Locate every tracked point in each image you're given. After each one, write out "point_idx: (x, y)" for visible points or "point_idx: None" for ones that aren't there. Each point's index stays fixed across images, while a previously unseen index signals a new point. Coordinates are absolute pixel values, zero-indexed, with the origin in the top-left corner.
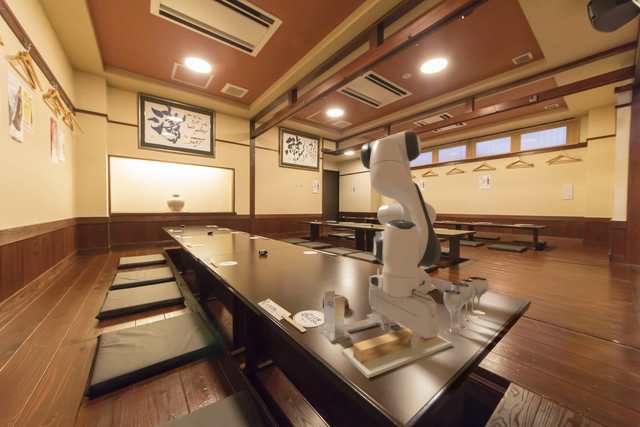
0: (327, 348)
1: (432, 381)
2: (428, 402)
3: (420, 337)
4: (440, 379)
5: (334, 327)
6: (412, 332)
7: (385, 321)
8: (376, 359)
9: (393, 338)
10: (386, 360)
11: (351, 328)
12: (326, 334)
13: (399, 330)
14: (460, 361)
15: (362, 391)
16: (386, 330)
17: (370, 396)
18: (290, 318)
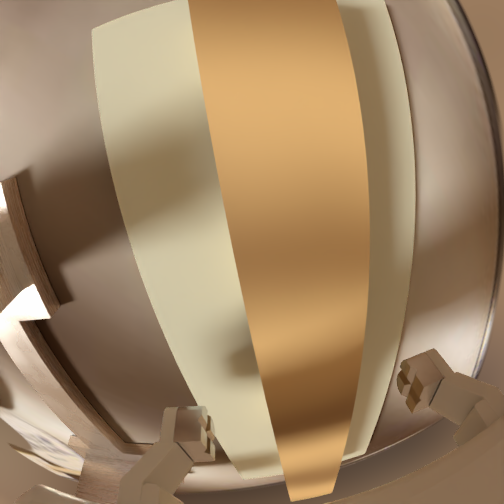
0: (209, 480)
1: (471, 320)
2: (477, 361)
3: (478, 383)
4: (483, 292)
5: None
6: (460, 441)
7: (180, 465)
8: None
9: (331, 440)
10: (351, 421)
11: (105, 438)
12: None
13: (267, 398)
14: (478, 116)
15: (380, 450)
16: (212, 428)
17: (397, 442)
18: (60, 467)
